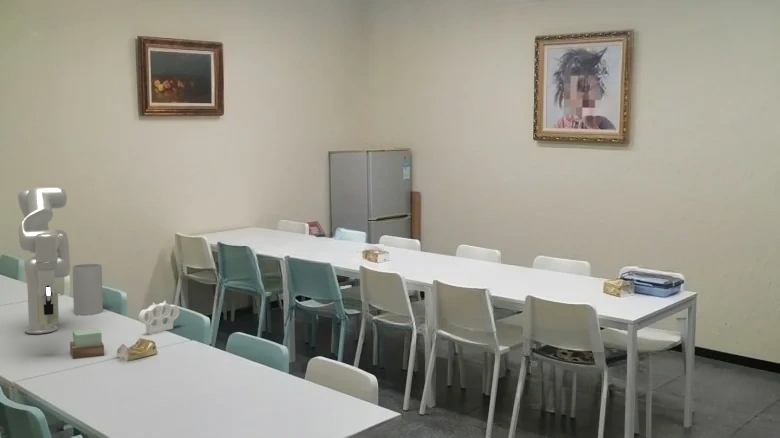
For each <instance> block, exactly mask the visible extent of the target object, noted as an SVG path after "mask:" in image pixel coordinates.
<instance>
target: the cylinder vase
mask: <svg viewBox="0 0 780 438" xmlns="http://www.w3.org/2000/svg"><path fill="white" fill-rule="evenodd" d="M102 267H103V266H102V264H100V263H84V264H83V263H82V264H75V265H72V293H73V297H72V298H73V299H72V300H73V314H74V316H79V315H80V316H82V317H86V316H88V315H89V316H95V315H100V314H101V313H103V311H104V307H103V305H104V303H103V302H104V300H103V271H102V269H103V268H102ZM80 316H79V317H80Z"/></svg>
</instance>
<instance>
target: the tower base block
mask: <svg viewBox="0 0 780 438" xmlns="http://www.w3.org/2000/svg"><path fill="white" fill-rule="evenodd" d="M69 349H70V350H69V353H70V355H71V358H72V360H78V359H86V358H88V359H89V358H95V357H105V344H104V343H103V342H102V344H101V345H92V346H84V347H76V346H75V344H74V343H73V341H70V342H69Z"/></svg>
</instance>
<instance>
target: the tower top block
mask: <svg viewBox="0 0 780 438" xmlns="http://www.w3.org/2000/svg"><path fill="white" fill-rule="evenodd" d="M102 336H103V335H102V331H100V329H99V328H98V327H97V328H96V327H95V328H85V329H76V330H72V342H73V343H74V344H75V346H76V347H84V346H92V345H101V344H102V343H103V339H102Z"/></svg>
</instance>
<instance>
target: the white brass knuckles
mask: <svg viewBox="0 0 780 438" xmlns="http://www.w3.org/2000/svg"><path fill="white" fill-rule="evenodd" d="M164 308H165V311H164V313H163V310H164ZM155 310H156V314H155V315H154V311H155ZM172 310H173V313H172V315H171V312H172ZM146 315H147V316H148V317H147V320H146V319H145V317H146ZM179 316H180V308H179V306H177V305H176V304H169V303H167V300H163V302H160V303H158V304H156V303H155V302H154V301H153V302H152V304H151V305H149V306H148V307H147V308H145V309H142V310H141V311H140V312H139V314H138V320H139V322H140V323H141V324H144V325H145V328H146V329H145V333H146V334H147V335H154V334H157V333H162V332H164V331H168V330H173V329H174V321H175V320H176V319H177V318H179ZM164 319H167V321H166V323H163V322H164ZM155 320H156V324H154V325H152V324H153V323H154V321H155Z"/></svg>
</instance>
